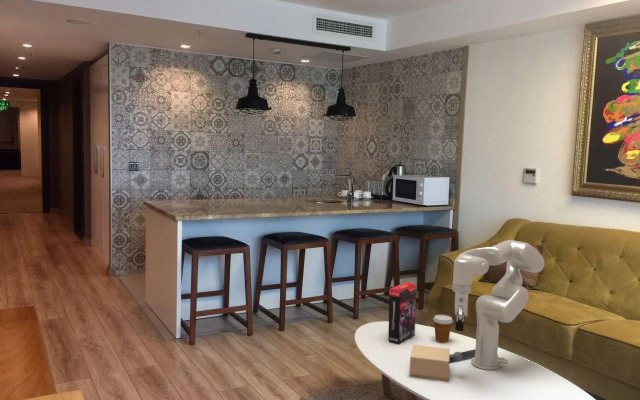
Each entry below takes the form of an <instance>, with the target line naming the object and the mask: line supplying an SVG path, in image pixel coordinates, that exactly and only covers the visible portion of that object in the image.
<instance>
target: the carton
mask: <svg viewBox="0 0 640 400" xmlns="http://www.w3.org/2000/svg"><path fill="white" fill-rule="evenodd" d="M409 359H410V360H409V361H410V362H409V377H413V378H421V379H426V380H427V379H428V380H435V381H444V382H448V381H449V373H450V371H449V370H450V362H449V363H446V362H438V361H430V360H422V359H414V358H409Z"/></svg>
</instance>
